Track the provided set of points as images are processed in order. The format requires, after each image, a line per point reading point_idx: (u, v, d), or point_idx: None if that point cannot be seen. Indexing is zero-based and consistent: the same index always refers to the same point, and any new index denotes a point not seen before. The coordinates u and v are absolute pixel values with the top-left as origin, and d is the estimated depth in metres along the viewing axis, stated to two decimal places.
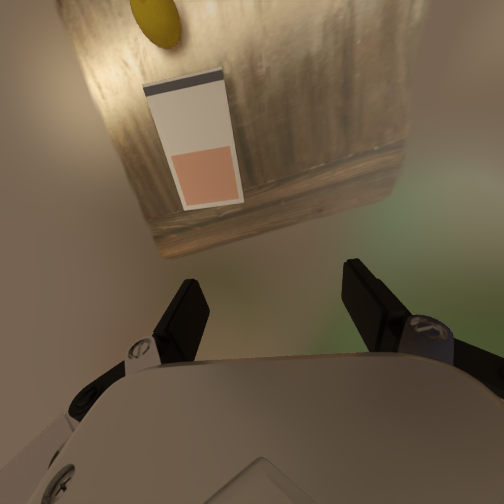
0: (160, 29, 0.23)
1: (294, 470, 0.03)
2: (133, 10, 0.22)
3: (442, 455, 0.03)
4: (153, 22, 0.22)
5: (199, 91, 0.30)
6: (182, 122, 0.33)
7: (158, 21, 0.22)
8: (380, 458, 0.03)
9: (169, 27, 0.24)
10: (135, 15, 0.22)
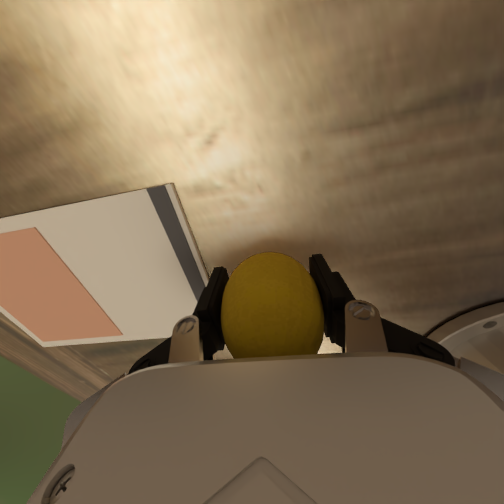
0: None
1: (294, 471, 0.03)
2: (256, 322, 0.07)
3: (442, 455, 0.03)
4: (234, 357, 0.08)
5: (189, 302, 0.16)
6: (125, 266, 0.14)
7: None
8: (380, 458, 0.03)
9: None
10: (247, 320, 0.07)
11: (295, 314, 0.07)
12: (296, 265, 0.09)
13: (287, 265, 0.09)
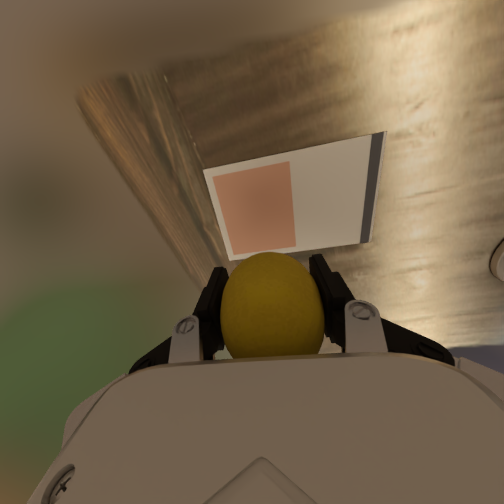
0: None
1: (294, 471, 0.03)
2: (256, 322, 0.07)
3: (442, 455, 0.03)
4: (233, 358, 0.08)
5: (356, 215, 0.25)
6: (329, 188, 0.23)
7: None
8: (380, 458, 0.03)
9: None
10: (247, 321, 0.07)
11: (295, 314, 0.07)
12: (296, 264, 0.09)
13: (287, 264, 0.09)
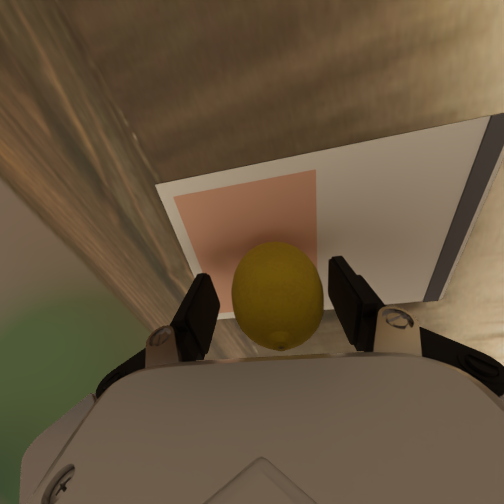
0: None
1: (294, 471, 0.03)
2: (265, 296, 0.08)
3: (442, 455, 0.03)
4: (244, 331, 0.09)
5: (426, 261, 0.14)
6: (386, 217, 0.13)
7: None
8: (380, 458, 0.03)
9: None
10: (257, 295, 0.08)
11: (298, 290, 0.08)
12: (299, 251, 0.11)
13: (291, 250, 0.10)
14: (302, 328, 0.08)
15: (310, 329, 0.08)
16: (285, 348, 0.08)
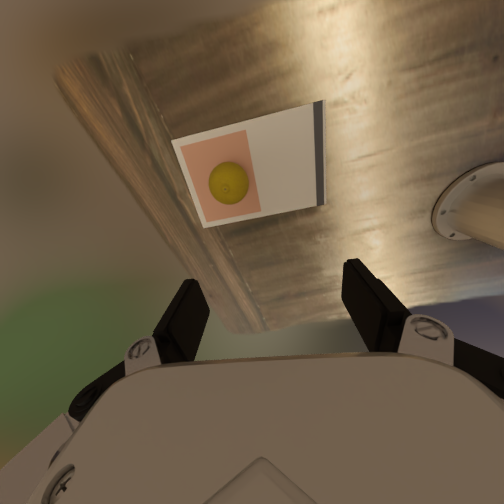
0: (212, 195, 0.24)
1: (294, 471, 0.03)
2: (219, 172, 0.22)
3: (442, 455, 0.03)
4: (213, 192, 0.23)
5: (310, 179, 0.28)
6: (283, 154, 0.27)
7: (215, 196, 0.23)
8: (380, 458, 0.03)
9: (218, 201, 0.25)
10: (216, 173, 0.22)
11: (231, 169, 0.22)
12: None
13: (232, 162, 0.24)
14: (233, 183, 0.22)
15: (237, 185, 0.22)
16: (226, 189, 0.22)
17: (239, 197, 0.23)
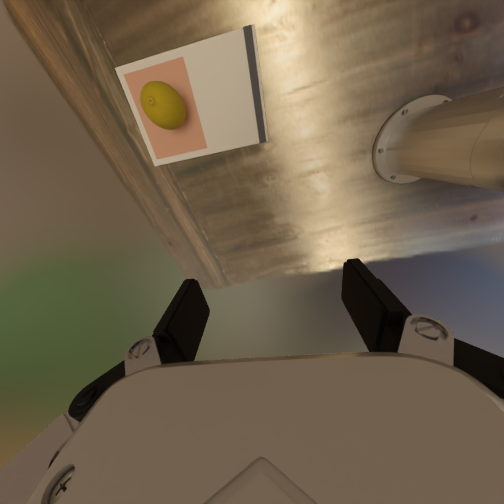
0: (145, 113, 0.25)
1: (294, 471, 0.03)
2: (146, 85, 0.23)
3: (442, 455, 0.03)
4: (143, 108, 0.24)
5: (250, 113, 0.30)
6: (221, 84, 0.28)
7: (146, 114, 0.25)
8: (380, 458, 0.03)
9: (153, 122, 0.26)
10: (144, 86, 0.23)
11: (158, 83, 0.23)
12: (170, 86, 0.26)
13: (165, 83, 0.25)
14: (158, 96, 0.23)
15: (163, 99, 0.24)
16: (151, 101, 0.23)
17: (169, 115, 0.25)
